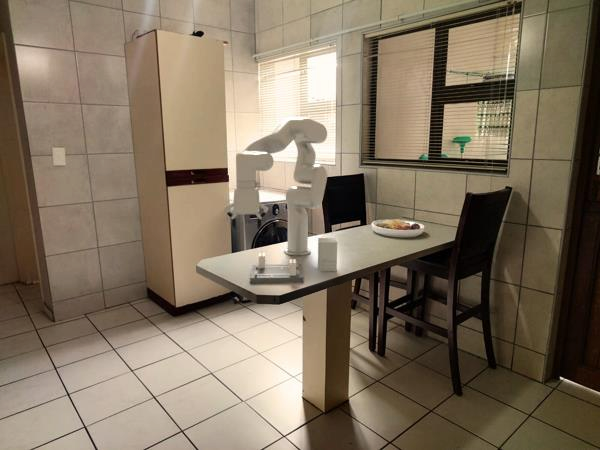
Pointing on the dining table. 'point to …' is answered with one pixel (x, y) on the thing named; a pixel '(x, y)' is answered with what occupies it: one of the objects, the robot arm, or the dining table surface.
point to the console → (275, 274)
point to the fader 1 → (261, 260)
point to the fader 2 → (292, 267)
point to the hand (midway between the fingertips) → (246, 228)
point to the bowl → (397, 228)
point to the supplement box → (327, 254)
